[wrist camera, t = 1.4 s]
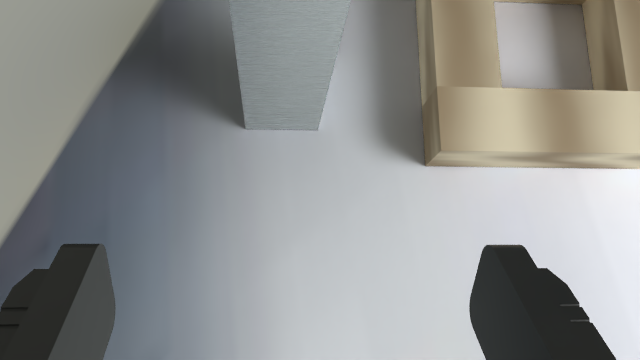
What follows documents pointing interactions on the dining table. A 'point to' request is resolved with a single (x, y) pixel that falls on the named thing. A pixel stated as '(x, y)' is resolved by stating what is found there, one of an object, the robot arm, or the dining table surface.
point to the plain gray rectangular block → (286, 59)
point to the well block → (527, 92)
